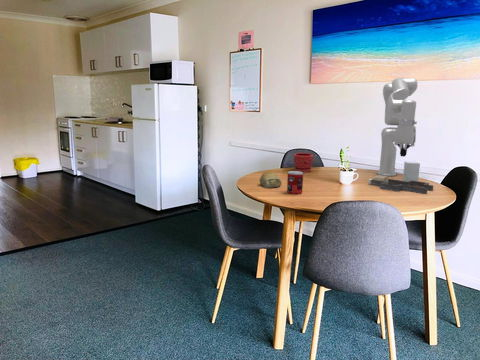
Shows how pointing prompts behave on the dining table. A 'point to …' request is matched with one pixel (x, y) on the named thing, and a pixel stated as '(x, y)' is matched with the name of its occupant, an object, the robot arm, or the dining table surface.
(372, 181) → the trap channel
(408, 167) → the supplement box
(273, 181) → the pastry
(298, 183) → the canned food
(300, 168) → the plant pot
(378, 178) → the birch block
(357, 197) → the dining table surface
